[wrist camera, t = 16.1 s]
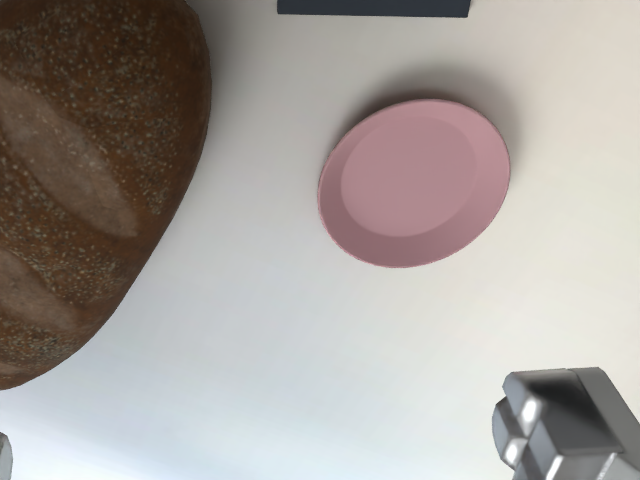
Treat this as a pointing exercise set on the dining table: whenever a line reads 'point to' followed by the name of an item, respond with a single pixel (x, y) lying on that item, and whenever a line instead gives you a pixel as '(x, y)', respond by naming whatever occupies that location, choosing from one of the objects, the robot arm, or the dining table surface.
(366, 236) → the plate
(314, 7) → the mat
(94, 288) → the bread
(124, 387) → the dining table surface
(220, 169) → the dining table surface
